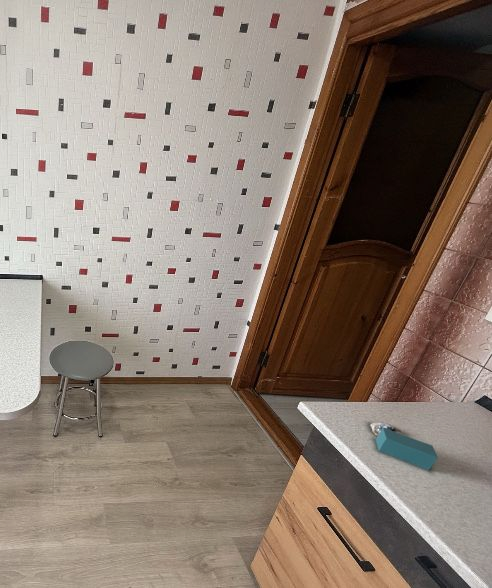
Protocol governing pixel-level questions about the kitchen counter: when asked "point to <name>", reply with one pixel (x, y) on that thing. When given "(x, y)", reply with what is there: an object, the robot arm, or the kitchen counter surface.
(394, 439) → the teal rectangular block
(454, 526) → the kitchen counter surface
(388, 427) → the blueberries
